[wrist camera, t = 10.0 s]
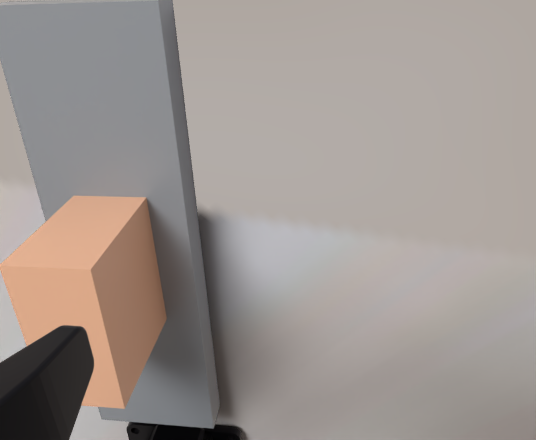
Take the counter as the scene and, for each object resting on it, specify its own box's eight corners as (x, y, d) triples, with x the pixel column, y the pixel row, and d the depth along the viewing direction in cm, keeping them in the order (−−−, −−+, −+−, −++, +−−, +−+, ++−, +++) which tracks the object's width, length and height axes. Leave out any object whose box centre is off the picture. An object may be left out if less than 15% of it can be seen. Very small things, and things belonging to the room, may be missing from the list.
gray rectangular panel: (220, 405, 27) (187, 528, 21) (112, 396, 28) (54, 513, 22) (171, -4, 17) (89, 21, 12) (10, 1, 18) (-140, 26, 12)
